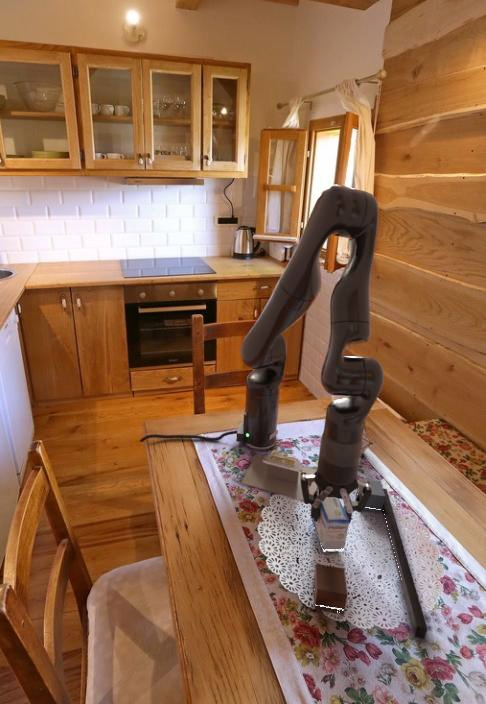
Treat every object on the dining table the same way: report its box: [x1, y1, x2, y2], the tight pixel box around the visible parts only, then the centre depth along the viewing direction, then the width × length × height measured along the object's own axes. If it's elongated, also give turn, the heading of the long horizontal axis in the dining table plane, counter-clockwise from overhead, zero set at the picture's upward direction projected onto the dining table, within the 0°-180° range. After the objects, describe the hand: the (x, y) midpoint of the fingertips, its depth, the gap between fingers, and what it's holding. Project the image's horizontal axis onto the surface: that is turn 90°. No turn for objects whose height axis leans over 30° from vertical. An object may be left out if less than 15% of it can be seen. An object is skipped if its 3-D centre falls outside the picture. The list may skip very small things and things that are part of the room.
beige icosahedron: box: [362, 424, 374, 457], centre depth 111 cm, size 9×8×10 cm
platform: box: [241, 450, 317, 502], centre depth 101 cm, size 12×18×7 cm, turn 69°
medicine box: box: [311, 497, 350, 553], centre depth 84 cm, size 8×4×9 cm, turn 4°
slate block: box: [355, 477, 385, 515], centre depth 94 cm, size 5×5×5 cm
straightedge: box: [382, 488, 428, 639], centre depth 82 cm, size 2×32×2 cm, turn 170°
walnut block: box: [312, 563, 348, 616], centre depth 72 cm, size 5×5×5 cm
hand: (329, 520), depth 84 cm, fingers closed on medicine box, 5 cm apart
